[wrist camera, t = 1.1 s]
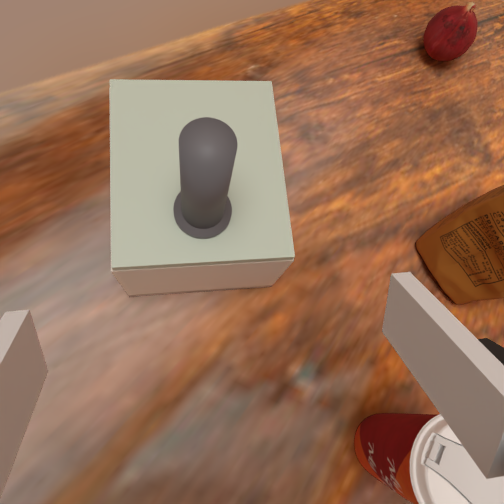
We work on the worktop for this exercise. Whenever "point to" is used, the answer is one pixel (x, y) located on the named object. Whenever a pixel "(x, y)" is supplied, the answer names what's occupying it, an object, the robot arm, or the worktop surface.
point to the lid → (196, 174)
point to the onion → (451, 32)
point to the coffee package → (468, 249)
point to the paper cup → (423, 460)
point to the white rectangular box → (199, 277)
